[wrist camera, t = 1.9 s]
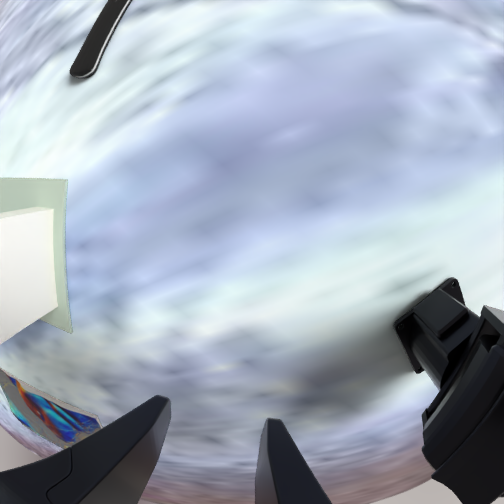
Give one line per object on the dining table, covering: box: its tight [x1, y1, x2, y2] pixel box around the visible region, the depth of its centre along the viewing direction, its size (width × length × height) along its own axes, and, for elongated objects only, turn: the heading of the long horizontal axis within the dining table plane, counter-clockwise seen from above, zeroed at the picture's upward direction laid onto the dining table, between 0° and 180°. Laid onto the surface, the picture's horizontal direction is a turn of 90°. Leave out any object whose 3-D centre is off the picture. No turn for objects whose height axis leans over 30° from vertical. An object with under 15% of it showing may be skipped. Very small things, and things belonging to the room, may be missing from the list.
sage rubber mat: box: [0, 178, 73, 333], centre depth 20 cm, size 20×14×1 cm
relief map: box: [0, 368, 103, 449], centre depth 26 cm, size 25×15×2 cm, turn 88°
